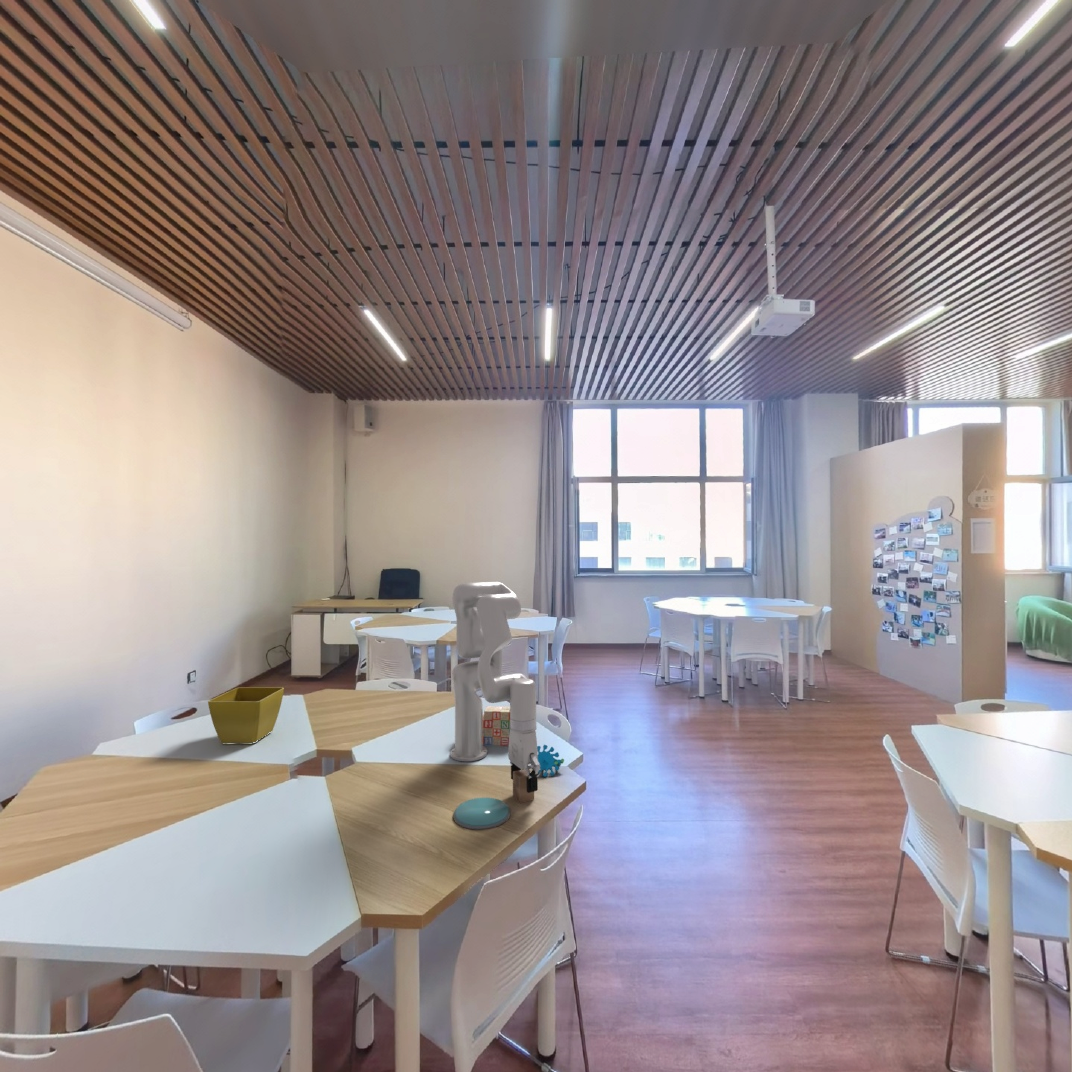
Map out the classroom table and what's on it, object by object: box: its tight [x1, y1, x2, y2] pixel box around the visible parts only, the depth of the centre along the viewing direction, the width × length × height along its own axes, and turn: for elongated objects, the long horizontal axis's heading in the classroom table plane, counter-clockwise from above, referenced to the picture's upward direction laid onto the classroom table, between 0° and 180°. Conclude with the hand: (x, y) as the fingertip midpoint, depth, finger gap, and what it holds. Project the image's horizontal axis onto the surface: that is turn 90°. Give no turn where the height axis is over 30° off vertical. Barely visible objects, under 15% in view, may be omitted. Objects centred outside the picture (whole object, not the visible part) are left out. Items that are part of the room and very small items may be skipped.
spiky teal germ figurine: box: [531, 744, 565, 778], centre depth 167 cm, size 11×6×10 cm
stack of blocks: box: [483, 705, 510, 747], centre depth 192 cm, size 21×6×12 cm, turn 85°
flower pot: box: [207, 686, 285, 744], centre depth 197 cm, size 19×19×17 cm
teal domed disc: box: [453, 797, 511, 831], centre depth 139 cm, size 15×15×1 cm
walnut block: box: [512, 769, 535, 804], centre depth 148 cm, size 4×4×7 cm
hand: (523, 784), depth 148 cm, fingers open, 9 cm apart
